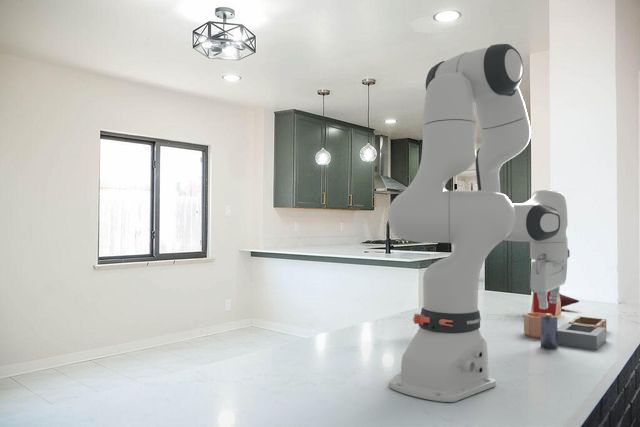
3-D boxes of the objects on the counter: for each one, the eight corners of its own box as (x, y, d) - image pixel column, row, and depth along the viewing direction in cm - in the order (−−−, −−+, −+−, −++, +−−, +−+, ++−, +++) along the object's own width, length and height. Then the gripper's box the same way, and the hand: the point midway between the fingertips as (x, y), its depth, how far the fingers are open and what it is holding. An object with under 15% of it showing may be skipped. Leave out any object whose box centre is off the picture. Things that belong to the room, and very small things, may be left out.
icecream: (582, 292, 179) (540, 292, 190) (575, 289, 174) (532, 289, 185) (582, 312, 177) (540, 310, 188) (575, 309, 173) (532, 307, 183)
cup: (550, 339, 135) (550, 319, 135) (521, 335, 140) (520, 315, 140) (557, 334, 141) (557, 314, 141) (529, 330, 146) (529, 311, 146)
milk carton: (561, 315, 170) (560, 257, 171) (557, 319, 163) (557, 259, 163) (532, 312, 175) (532, 256, 176) (528, 316, 168) (527, 258, 168)
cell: (555, 350, 124) (554, 316, 124) (538, 347, 127) (538, 314, 127) (559, 347, 127) (559, 313, 127) (543, 344, 130) (542, 311, 130)
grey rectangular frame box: (596, 349, 124) (596, 334, 124) (554, 343, 131) (554, 328, 131) (605, 340, 134) (605, 326, 134) (565, 335, 140) (565, 321, 140)
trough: (598, 338, 136) (597, 326, 137) (568, 334, 141) (568, 322, 141) (606, 330, 146) (606, 319, 146) (578, 327, 151) (578, 316, 151)
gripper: (550, 256, 117) (550, 314, 118) (571, 250, 133) (571, 301, 133) (523, 255, 121) (523, 311, 122) (546, 249, 137) (546, 298, 137)
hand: (548, 305), depth 128 cm, fingers open, 8 cm apart
